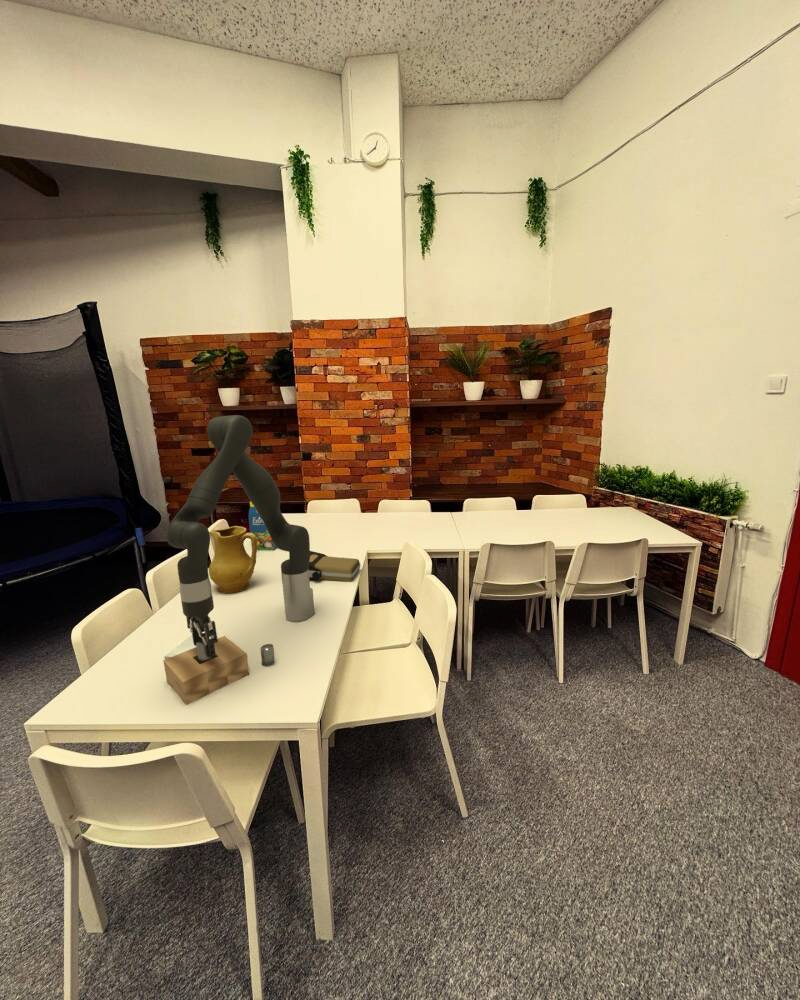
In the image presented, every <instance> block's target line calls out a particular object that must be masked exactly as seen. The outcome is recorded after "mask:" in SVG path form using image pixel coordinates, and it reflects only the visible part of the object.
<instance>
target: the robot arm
mask: <svg viewBox="0 0 800 1000" xmlns="http://www.w3.org/2000/svg"><path fill="white" fill-rule="evenodd" d="M253 430H254V429H253V425H252V424H251V421H250V420H249V418H247V417H245V416H244V415H238V414H237V415H236V414H234V415H223V416H215V417H212V418H211V419H210V420H209V421H208V423H207V426H206V431H207V436H208V439H209V441H210V442H211V445H212V446H213V447H214V449H215V450H216V451H217V452H218V454H217V455H216V457H215V458H214V459H213V460H212V462H211V463H209V465H208V466H207V467H206V468H205V469H204V470H203V471H202V472H201V473H200V475H199V476H198V477H197V478H196V480H195V482H194V484H193V486H192V489H191V490H190V492H189V495H188V498H187V500H186V502H185V504H184V505H183V506H182V507H181V508H180V510H179V511H178V512H177V513H176V515H174V517H173V518H172V520H171V521H170V522H169V525H168V526H167V529H166V535H165V537H166V541H167V544H168V545H169V546H170V547H173V548H175V549H183V550H187V553H186V556H184V557H183V556H182V557H181V558H180V559H179V560H178V562H177V575H178V582H179V595H180V601H181V602H180V603H181V607H182V614H183V615H184V616H185V617H186V625H187V626H186V627H187V629H188V630H189V629H190V630H189V632H190V634H191V636H192V637H193V644H194V645H195V646H196V642H197V641H199V640H201V639H203V641H204V644H205V651H206V656H207V657H211V656H214V655H215V646H214V643H216V642H218V633H217V628H216V622H215V620H211V617H210V616H209V614H210V613H211V612H212V611H213V610H214V608H215V607H214V606H215V605H214V596H213V591H212V584H211V581H210V580H211V579H210V576H209V567H208V557H209V552H210V551H209V550H210V546H211V545H210V544H211V534H210V533H209V532H210V531H209V528H208V527H207V526H206V525H205V524H204V523H202V522H199V521H200V520H202V519H204V518H208V517H211V516H212V515H213V513H214V511H215V509H216V507H217V504H218V502H219V500H220V496H221V494H222V492H223V489H224V487H225V485H226V483H227V481H228V479H229V477H230V476H231V475H232V473H233V474H234V476H235V477H236V480H237V481H238V482H239V484H240V486H241V487H242V489H243V490H244V492H245V494H246V496H247V498H248V499H249V502H252V504H253V505H254V507H255V508H256V510H257V512H258V513H259V515H260V517H261V518H262V520H263V522H264V524H265V525H266V528H267V530H268V532H269V534H270V537H271V539H272V541H273V543H274V544H275V546H276V547H277V548H276V549H278V550H280V551H283V552H288V553H289V557H288V558H287V559H286V560H284V561H283V562H282V563H281V564H280V571H281V582H282V592H283V604H284V614H285V619H286V620H287V621H289V622H295V623H297V622H298V623H299V622H303V621H307V620H309V618H311V617H312V615H314V614H315V602H314V590H313V588H312V587H311V581H310V580H309V567H308V564H309V560H310V551H311V550H310V549H311V548H310V547H311V543H310V541H311V540H310V535H309V531H308V529H307V528H306V527H305V526H302V525H297V524H291V523H289V522H288V521H287V520H286V518H285V517H284V515H283V514H282V512H281V509H280V508H281V499H282V498H281V492H280V489H279V487H278V486H277V484H276V481H275V480H274V478H273V476H272V475H271V474H270V473H269V472H268V470H267V469H265V468H264V467H263V466H262V465H261V464H259V462H257V461H255V460H254V459H253V458H252V457H251V456H250V455H248V453H247V452H246V450H247V448H248V447H249V445H250V443H251V441H252V438H253V435H254V434H253V433H254V432H253ZM205 636H206V637H205ZM209 637H211V639H209Z"/></svg>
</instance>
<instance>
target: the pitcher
mask: <svg viewBox="0 0 800 1000" xmlns="http://www.w3.org/2000/svg"><path fill="white" fill-rule="evenodd" d="M209 533H210V537H212V539H213V541H214V555H213V557H212V561H211V562H210V564H209V567H208V574H209V579H210V580H211V582H213V583H214V584H215V585H217V586H218V587H217V591H218V592H219V593H222V594H225V595H226V594H235V593H240V592H241V591H244V590H246V589H248V588H249V587H250V585H251V584H250V583H249V581H250V580H251V578H252V576H253V574H254V573H255V566H256V563H257V553H258V550H257V538H256V535H255V534H253V533H250V532H247V528H246V527H244V526H238V525H233V526H229V527H227V528H222V529H214V530H211V531H209ZM246 539H249V540H250V542H251V541H252V545H251V556H250V555H249V554H248V553H247V551H246V549H245V548H246V547H245V545H244V543H245V541H246Z"/></svg>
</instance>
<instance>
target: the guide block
mask: <svg viewBox="0 0 800 1000" xmlns="http://www.w3.org/2000/svg"><path fill="white" fill-rule="evenodd" d="M217 639H218V642H216V643H214V646H215V655H214V656H213V659H211V660H209V661H207V662H204V663H202V664H199V661H198V654H197V647H195V648H193V649H190V650H188V651H185V652H183V653H180V654H178V655H175V656H173V657H170V658H168V659H165V658H164V660H163V661H162V662H163V666H164V673H165V679H166V682H167V683H168V685H169V686H170V687H171V689H172V690H173V691H174V692H175V693H176V694H177V695H178V697H179V698H180V699H181V700H182V701H183V703H184V704H185V705H189V704H191V703H193V702H195V701H197V700H199V699H201V698H203V697H205V696H207V695H209V694H211V693H213V692H216V691H217V690H219V689H222V688H224V687H226V686H229V684H232V683H234V682H237V681H239V680H240V679H242V678H245V677H247V676H249V675H250V670H249V661H248V660H249V659H248V653H247V652H246V651H245V650H244V649H242V648H240V647H239V646H238V644H236V643H235V642H233V641H232V640H230V639H229V638H228V637H227V636H226V635H223V636H220V637H217Z"/></svg>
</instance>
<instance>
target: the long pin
mask: <svg viewBox="0 0 800 1000" xmlns="http://www.w3.org/2000/svg"><path fill="white" fill-rule="evenodd" d="M196 647H197V654H198V661H199V664H202V663H204V662H207V661H209V660H211V659H213V656H211V657H207V656H206V651H205V644H204V641H203V639H201V640H199V641H197V642H196Z"/></svg>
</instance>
